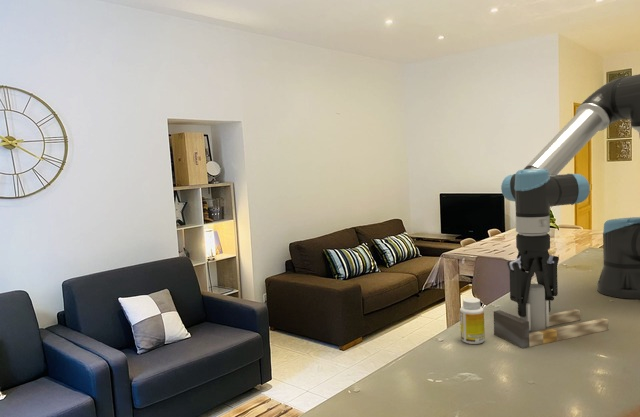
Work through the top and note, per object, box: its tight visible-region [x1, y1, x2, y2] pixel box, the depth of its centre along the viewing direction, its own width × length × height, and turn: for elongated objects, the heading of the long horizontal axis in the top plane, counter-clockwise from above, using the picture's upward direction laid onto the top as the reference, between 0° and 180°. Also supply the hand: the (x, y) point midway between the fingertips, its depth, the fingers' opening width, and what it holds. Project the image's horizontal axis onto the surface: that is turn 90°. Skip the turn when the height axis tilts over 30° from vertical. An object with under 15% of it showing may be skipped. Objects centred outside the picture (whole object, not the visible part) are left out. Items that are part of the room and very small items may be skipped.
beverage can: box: [527, 283, 546, 333], centre depth 119 cm, size 5×5×12 cm
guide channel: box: [493, 308, 609, 349], centre depth 121 cm, size 26×10×6 cm, turn 108°
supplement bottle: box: [459, 297, 486, 345], centre depth 118 cm, size 6×6×10 cm
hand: (534, 326), depth 119 cm, fingers closed on beverage can, 5 cm apart
